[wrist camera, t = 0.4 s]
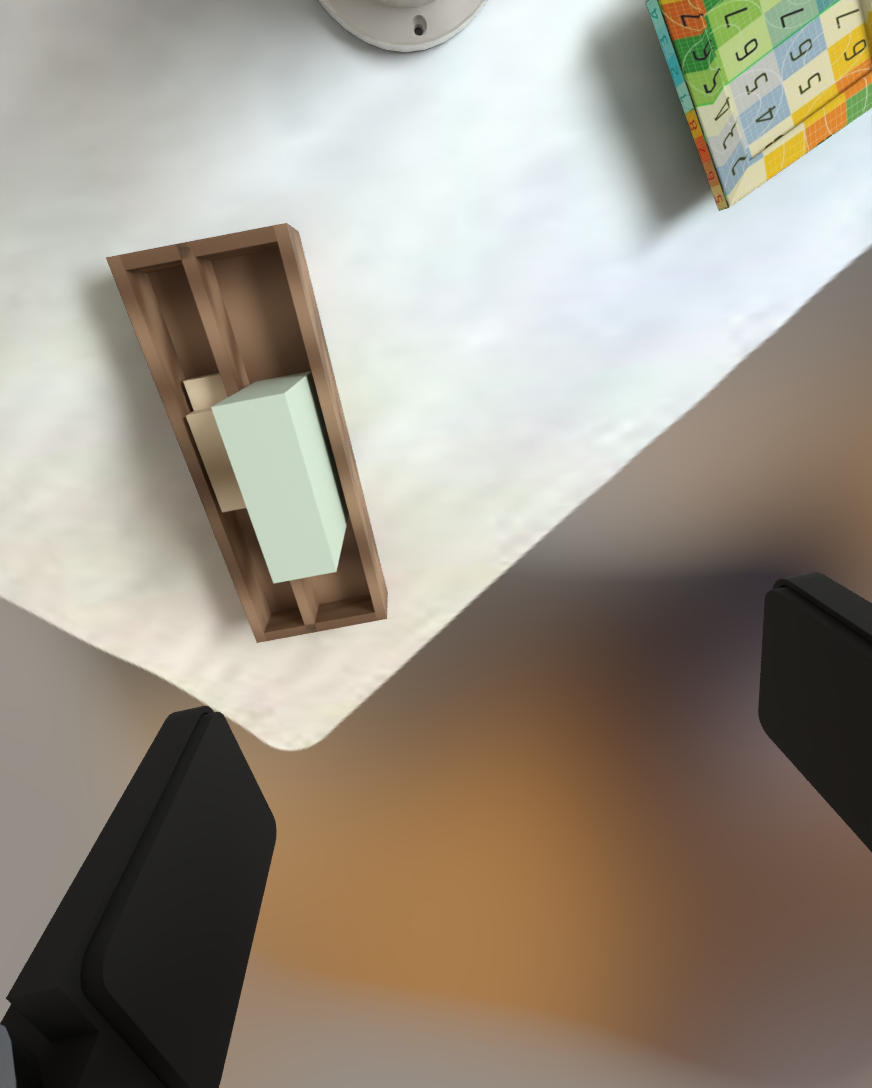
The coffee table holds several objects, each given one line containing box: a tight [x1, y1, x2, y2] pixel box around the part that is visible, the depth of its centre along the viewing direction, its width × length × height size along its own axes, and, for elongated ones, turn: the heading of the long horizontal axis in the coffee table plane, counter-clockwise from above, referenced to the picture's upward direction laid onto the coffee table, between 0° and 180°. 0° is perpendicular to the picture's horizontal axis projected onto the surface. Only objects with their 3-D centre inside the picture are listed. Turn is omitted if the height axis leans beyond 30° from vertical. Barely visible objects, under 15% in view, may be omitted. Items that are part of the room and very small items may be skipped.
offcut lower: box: [183, 373, 228, 411], centre depth 37 cm, size 9×3×2 cm, turn 10°
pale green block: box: [211, 371, 349, 584], centre depth 34 cm, size 11×4×10 cm, turn 10°
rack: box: [106, 223, 388, 643], centre depth 38 cm, size 28×11×4 cm, turn 10°
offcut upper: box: [186, 408, 247, 512], centre depth 36 cm, size 7×3×2 cm, turn 10°
